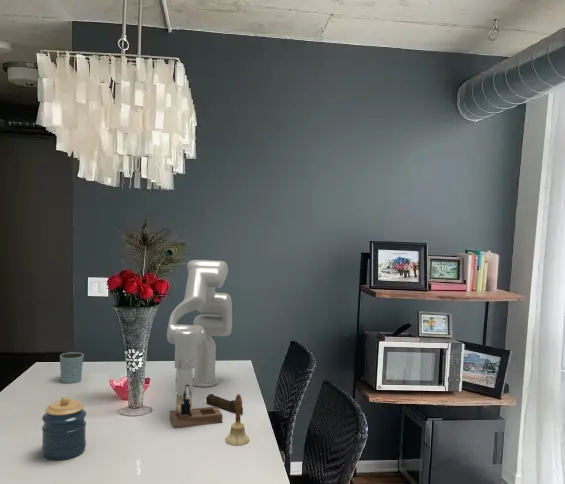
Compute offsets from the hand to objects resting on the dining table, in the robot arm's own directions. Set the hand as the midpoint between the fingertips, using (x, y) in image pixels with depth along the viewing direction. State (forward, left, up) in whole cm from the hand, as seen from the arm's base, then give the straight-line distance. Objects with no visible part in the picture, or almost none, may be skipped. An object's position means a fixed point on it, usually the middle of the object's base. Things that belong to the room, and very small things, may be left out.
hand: (183, 410), depth 192 cm
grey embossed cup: (-62, -40, -4) cm, 74 cm away
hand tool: (-9, +19, -5) cm, 22 cm away
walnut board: (0, +4, -4) cm, 6 cm away
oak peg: (0, 0, -4) cm, 4 cm away
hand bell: (+21, +14, -4) cm, 26 cm away
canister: (+13, -41, -4) cm, 43 cm away
